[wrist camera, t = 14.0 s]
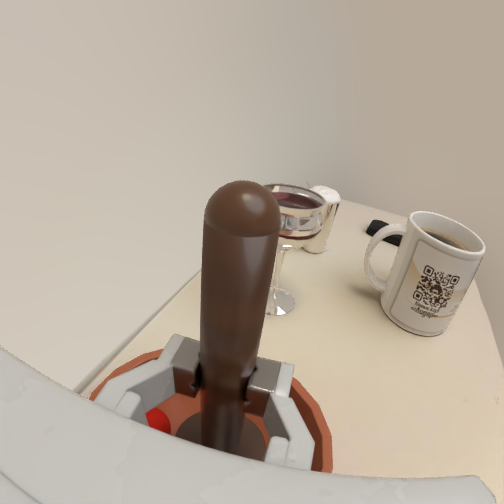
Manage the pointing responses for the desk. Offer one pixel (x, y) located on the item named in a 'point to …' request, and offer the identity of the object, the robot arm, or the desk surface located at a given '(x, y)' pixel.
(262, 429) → the bowl
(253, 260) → the brown plunger
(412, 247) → the mug
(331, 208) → the milkshake
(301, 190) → the wineglass
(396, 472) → the desk surface
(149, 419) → the tomato
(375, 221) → the remote control
